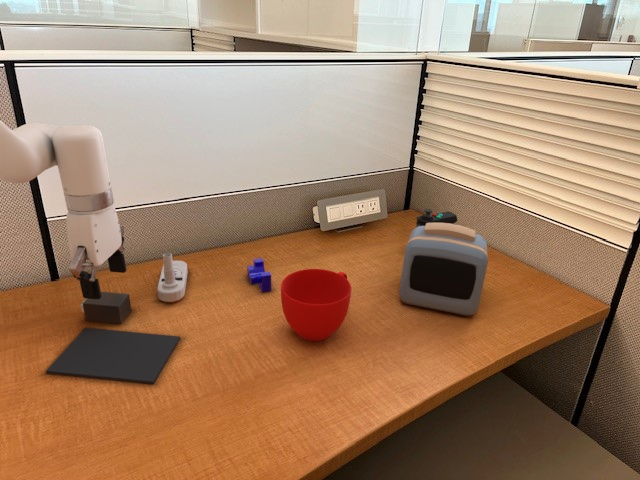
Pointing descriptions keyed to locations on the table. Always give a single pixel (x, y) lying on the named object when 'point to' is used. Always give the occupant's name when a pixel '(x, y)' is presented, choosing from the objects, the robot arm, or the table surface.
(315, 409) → the table surface
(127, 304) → the block
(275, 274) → the table surface
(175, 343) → the desk mat
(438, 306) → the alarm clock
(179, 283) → the electronic device
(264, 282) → the cable holder
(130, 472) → the table surface
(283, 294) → the ceramic cup
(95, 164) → the robot arm
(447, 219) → the controller
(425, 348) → the table surface
